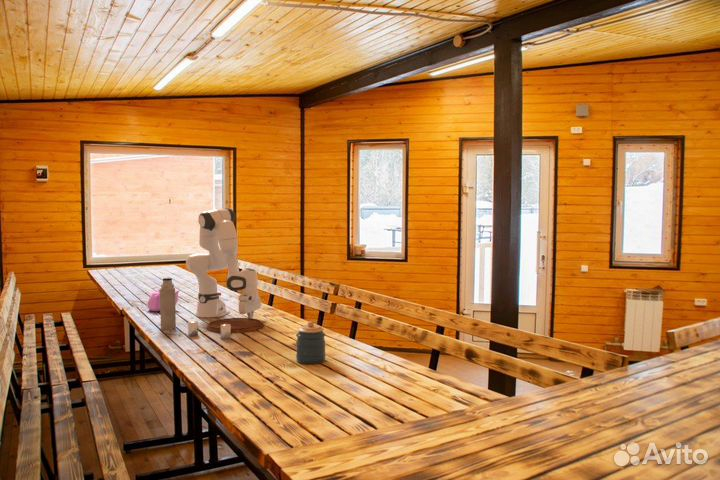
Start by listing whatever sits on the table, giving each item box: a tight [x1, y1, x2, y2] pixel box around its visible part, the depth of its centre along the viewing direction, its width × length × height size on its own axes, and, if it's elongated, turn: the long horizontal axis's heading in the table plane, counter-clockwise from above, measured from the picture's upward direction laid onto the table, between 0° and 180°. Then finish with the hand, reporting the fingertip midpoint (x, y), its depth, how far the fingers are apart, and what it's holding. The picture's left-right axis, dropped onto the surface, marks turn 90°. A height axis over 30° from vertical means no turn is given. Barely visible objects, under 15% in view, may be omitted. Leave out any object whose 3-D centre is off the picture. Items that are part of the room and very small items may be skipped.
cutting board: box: [205, 317, 265, 335], centre depth 315 cm, size 32×32×3 cm
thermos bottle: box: [159, 277, 177, 330], centre depth 312 cm, size 8×8×28 cm
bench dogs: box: [187, 320, 232, 340], centre depth 292 cm, size 5×25×7 cm, turn 70°
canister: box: [295, 321, 327, 365], centre depth 246 cm, size 13×13×18 cm
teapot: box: [146, 288, 181, 312], centre depth 366 cm, size 22×22×14 cm
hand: (250, 318), depth 330 cm, fingers closed
